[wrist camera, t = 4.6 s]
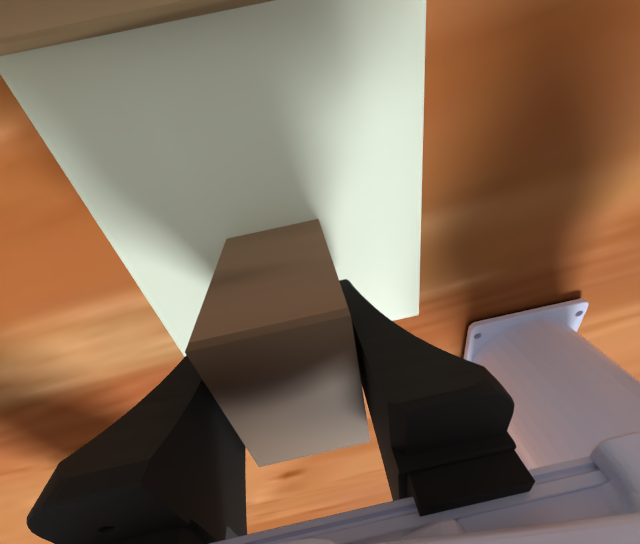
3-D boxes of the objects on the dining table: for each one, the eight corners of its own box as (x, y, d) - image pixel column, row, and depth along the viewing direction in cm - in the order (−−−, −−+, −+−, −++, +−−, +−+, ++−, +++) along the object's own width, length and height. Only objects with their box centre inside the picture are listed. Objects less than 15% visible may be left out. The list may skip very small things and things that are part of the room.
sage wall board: (408, 298, 17) (418, 314, 16) (196, 345, 17) (190, 365, 16) (406, -118, 8) (429, -157, 7) (-29, -32, 8) (-85, -55, 7)
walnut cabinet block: (337, 321, 15) (370, 442, 10) (265, 337, 15) (258, 466, 10) (318, 218, 12) (350, 315, 7) (226, 238, 12) (185, 351, 7)
